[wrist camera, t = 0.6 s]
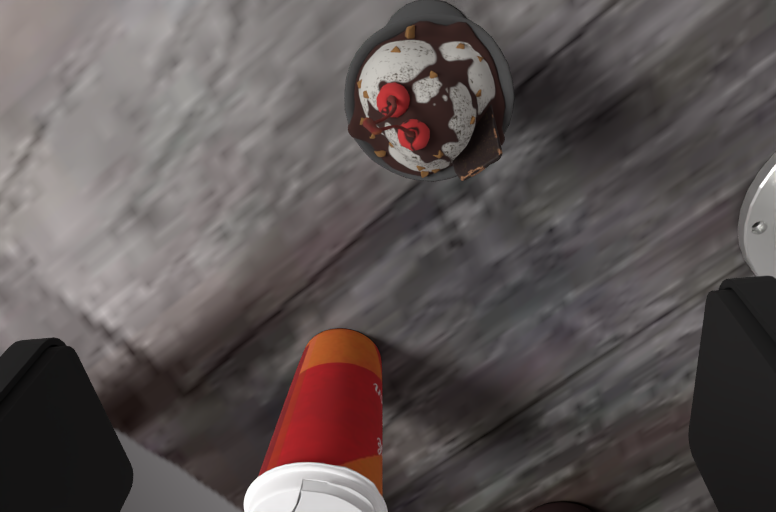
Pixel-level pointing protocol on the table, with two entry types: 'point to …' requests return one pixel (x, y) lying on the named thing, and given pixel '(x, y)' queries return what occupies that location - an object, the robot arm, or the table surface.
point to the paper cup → (327, 432)
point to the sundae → (430, 94)
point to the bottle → (561, 507)
